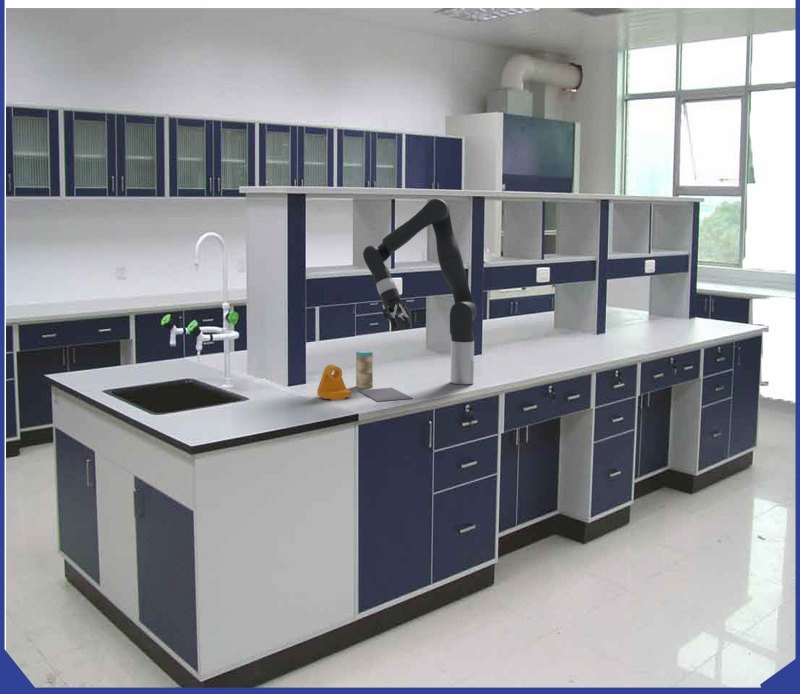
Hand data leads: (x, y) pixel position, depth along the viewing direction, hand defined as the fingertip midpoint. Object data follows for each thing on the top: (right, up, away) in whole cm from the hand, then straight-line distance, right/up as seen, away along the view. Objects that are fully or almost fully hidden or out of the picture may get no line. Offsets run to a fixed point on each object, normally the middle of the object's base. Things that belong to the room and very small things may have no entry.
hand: (402, 328), depth 345 cm
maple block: (-15, -23, -2) cm, 28 cm away
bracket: (-25, -27, -22) cm, 43 cm away
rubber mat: (-7, -26, -17) cm, 32 cm away
